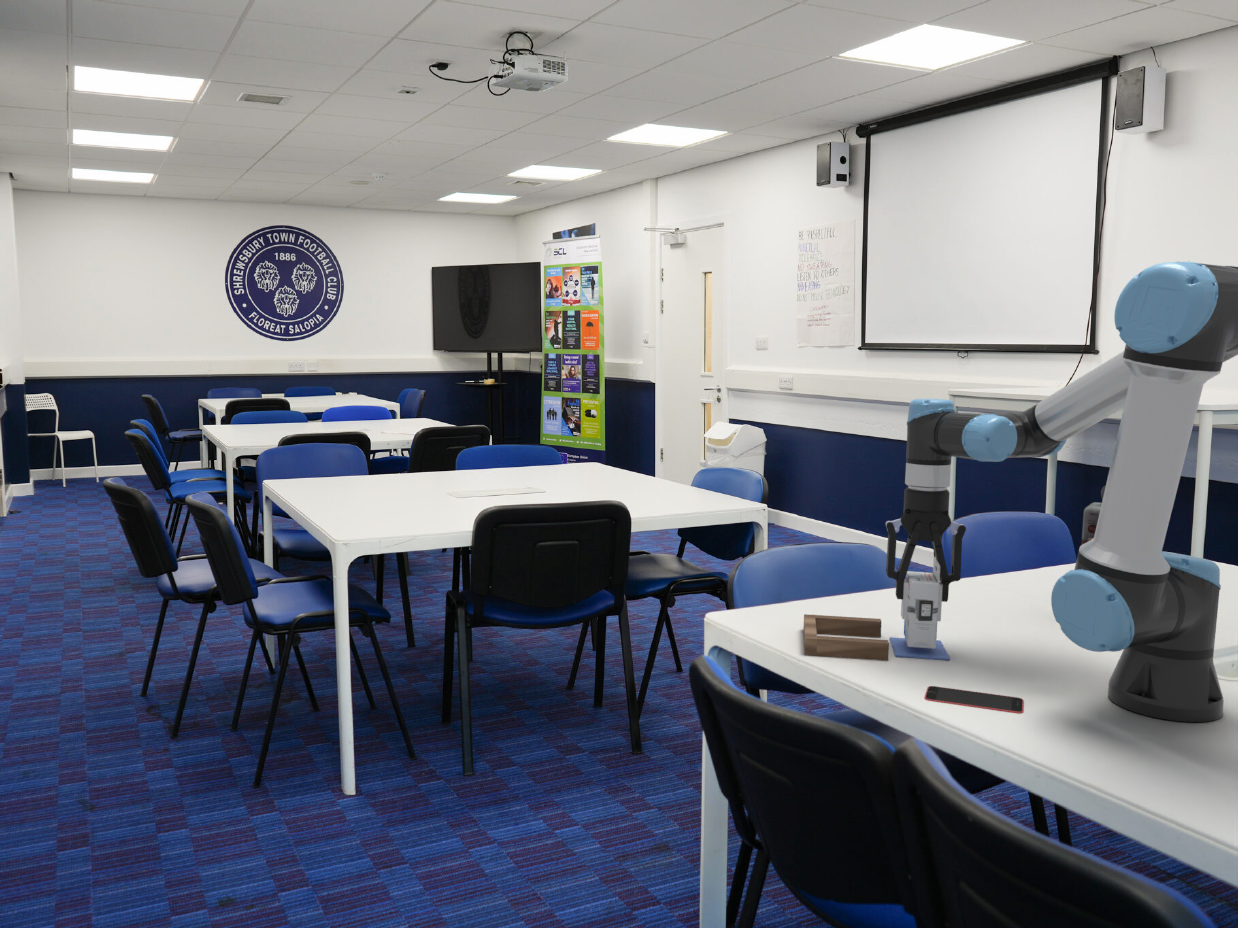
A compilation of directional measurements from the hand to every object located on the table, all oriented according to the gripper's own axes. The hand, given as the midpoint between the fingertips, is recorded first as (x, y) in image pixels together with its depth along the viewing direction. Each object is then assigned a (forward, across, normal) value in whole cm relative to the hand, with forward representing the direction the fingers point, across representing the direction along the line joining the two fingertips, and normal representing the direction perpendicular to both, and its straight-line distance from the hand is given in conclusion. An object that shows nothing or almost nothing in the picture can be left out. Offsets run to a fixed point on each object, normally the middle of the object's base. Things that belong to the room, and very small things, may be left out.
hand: (920, 617), depth 173 cm
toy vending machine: (+6, -38, -25) cm, 46 cm away
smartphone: (+6, -5, +25) cm, 26 cm away
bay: (+6, +13, 0) cm, 14 cm away
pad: (+6, 0, 0) cm, 6 cm away
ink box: (+4, 0, 0) cm, 4 cm away
